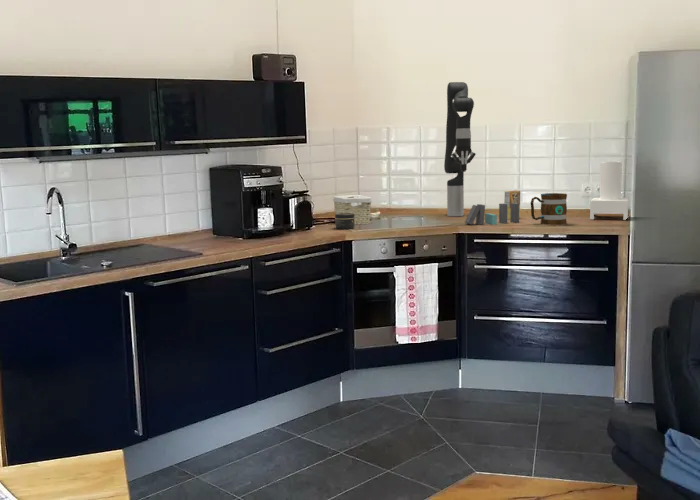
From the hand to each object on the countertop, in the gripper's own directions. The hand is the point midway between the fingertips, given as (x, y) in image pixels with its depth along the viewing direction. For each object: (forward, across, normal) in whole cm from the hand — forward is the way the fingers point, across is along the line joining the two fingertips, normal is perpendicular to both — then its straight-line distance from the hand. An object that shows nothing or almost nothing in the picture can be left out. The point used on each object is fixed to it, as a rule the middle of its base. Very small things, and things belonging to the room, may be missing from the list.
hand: (463, 171), depth 410 cm
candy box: (+28, -34, -16) cm, 47 cm away
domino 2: (+27, -8, +1) cm, 29 cm away
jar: (+28, +61, -8) cm, 68 cm away
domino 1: (+27, -2, +1) cm, 27 cm away
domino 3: (+27, -21, +1) cm, 35 cm away
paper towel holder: (+28, -83, +1) cm, 87 cm away
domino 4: (+27, -28, +1) cm, 39 cm away
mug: (+28, -41, +13) cm, 51 cm away
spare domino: (+25, -15, +6) cm, 30 cm away
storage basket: (+28, +52, -33) cm, 67 cm away
